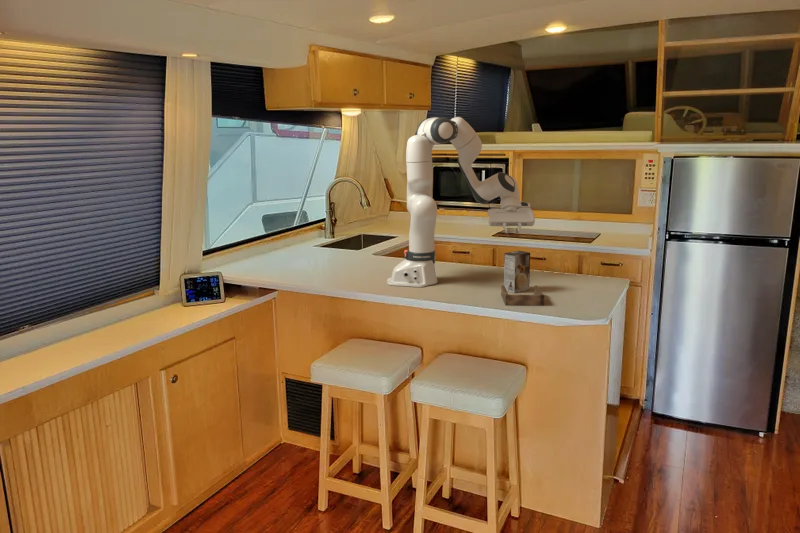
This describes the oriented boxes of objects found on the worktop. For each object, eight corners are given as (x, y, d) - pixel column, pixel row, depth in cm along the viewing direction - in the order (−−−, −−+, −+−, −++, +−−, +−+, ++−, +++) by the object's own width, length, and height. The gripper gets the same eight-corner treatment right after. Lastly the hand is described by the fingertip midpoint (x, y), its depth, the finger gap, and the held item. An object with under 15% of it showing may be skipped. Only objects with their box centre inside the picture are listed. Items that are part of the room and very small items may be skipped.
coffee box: (518, 286, 250) (519, 250, 247) (529, 289, 245) (531, 252, 242) (503, 290, 245) (504, 252, 242) (514, 293, 240) (515, 255, 237)
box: (505, 305, 223) (505, 295, 222) (501, 294, 238) (501, 285, 237) (543, 305, 222) (544, 295, 221) (536, 295, 237) (537, 285, 236)
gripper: (487, 203, 264) (489, 228, 256) (533, 203, 263) (536, 228, 255) (486, 212, 269) (488, 236, 262) (531, 212, 268) (534, 236, 260)
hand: (512, 232), depth 258 cm, fingers open, 3 cm apart
